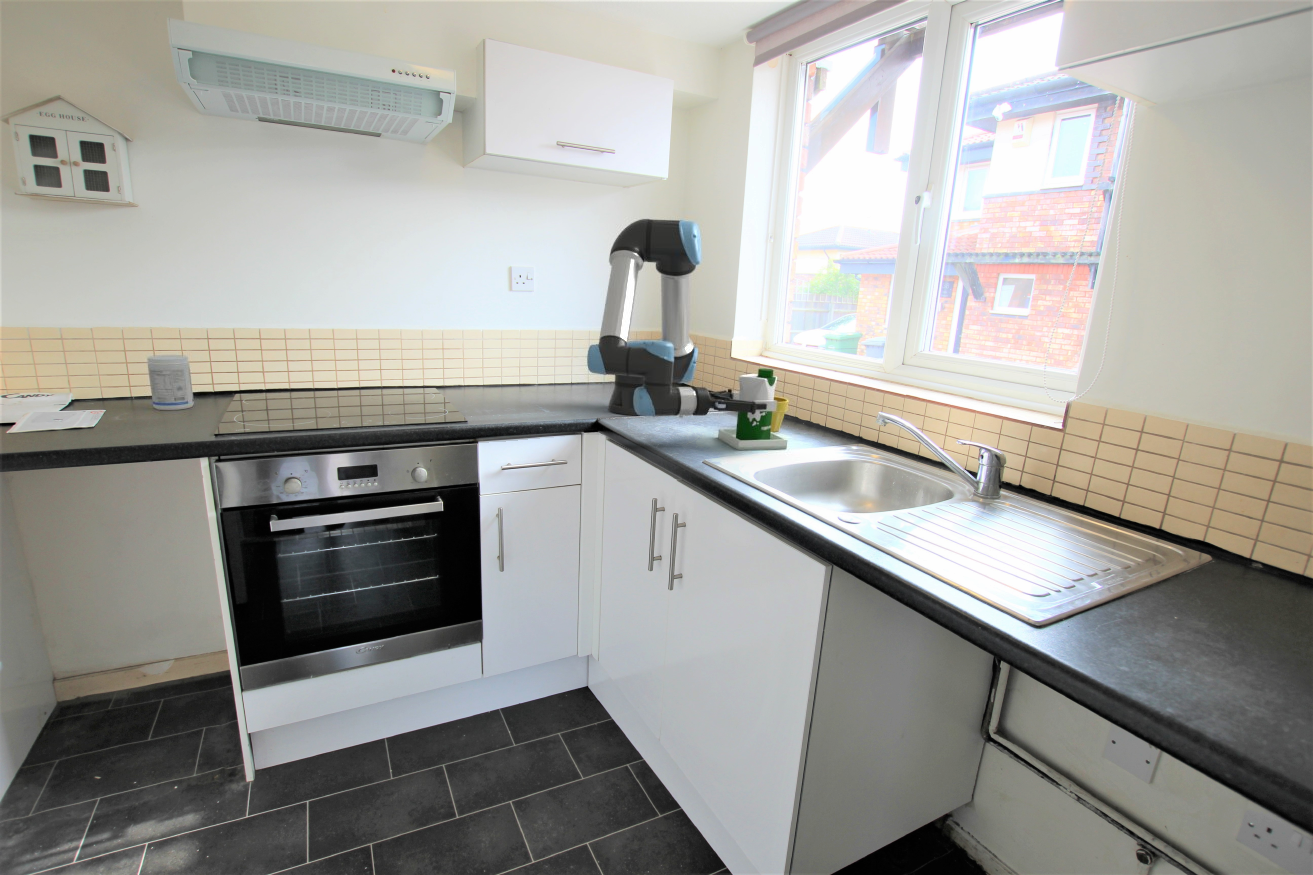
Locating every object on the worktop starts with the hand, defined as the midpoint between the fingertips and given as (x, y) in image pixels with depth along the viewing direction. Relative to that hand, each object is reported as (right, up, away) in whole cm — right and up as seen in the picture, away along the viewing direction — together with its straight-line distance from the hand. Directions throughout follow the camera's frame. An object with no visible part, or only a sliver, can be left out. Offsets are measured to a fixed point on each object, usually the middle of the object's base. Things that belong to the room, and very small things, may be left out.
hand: (764, 401), depth 179 cm
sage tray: (-3, -12, +2) cm, 12 cm away
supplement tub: (-168, -2, +9) cm, 169 cm away
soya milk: (-3, -11, +1) cm, 12 cm away
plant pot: (+4, -8, +20) cm, 22 cm away
